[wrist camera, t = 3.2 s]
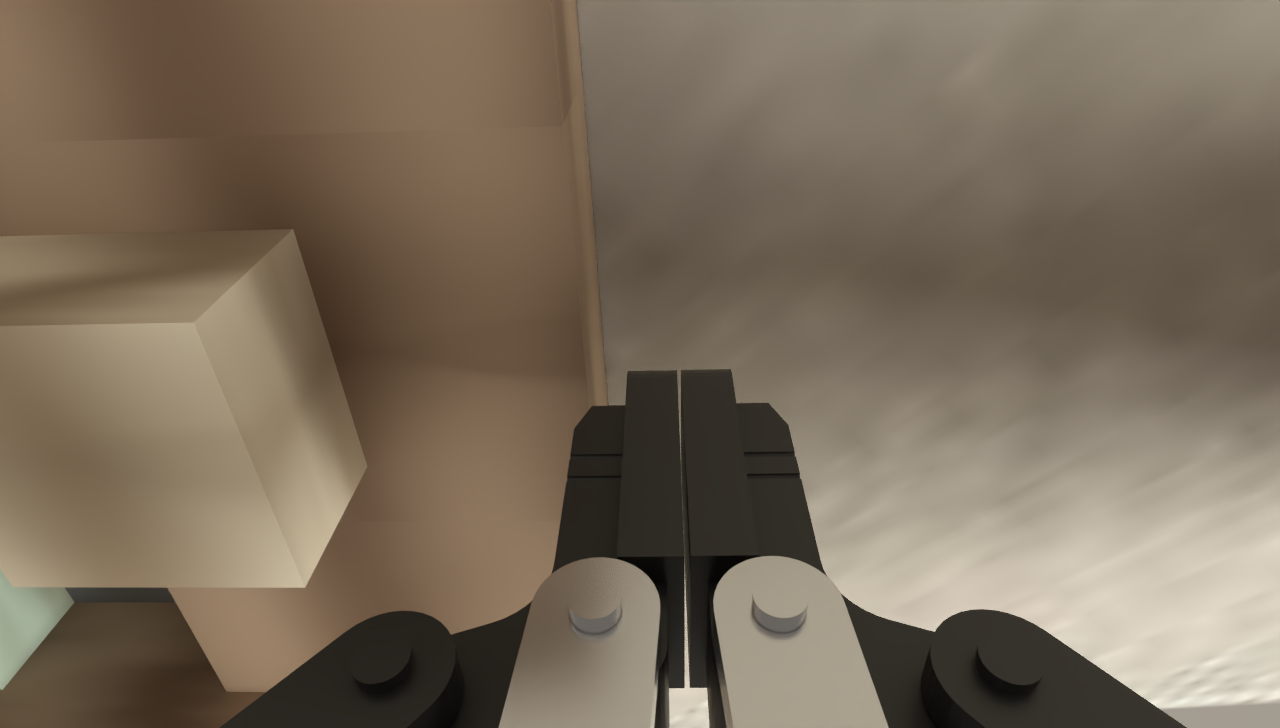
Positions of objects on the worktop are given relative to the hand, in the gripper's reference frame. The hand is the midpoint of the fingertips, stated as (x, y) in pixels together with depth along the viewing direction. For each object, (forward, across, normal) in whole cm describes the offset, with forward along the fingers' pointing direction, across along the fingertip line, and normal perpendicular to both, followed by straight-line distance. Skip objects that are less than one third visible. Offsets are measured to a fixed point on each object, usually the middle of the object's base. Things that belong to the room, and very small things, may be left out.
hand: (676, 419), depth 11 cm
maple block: (+2, +9, 0) cm, 9 cm away
